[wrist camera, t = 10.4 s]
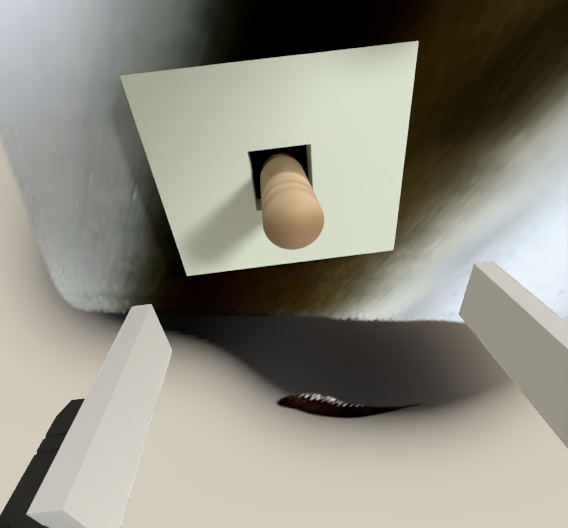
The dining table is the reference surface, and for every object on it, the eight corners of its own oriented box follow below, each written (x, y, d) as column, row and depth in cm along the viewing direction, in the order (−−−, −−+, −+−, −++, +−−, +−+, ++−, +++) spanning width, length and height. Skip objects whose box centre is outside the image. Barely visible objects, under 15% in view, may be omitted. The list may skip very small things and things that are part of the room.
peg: (256, 150, 28) (258, 197, 18) (298, 145, 29) (323, 189, 19) (262, 191, 31) (266, 253, 21) (301, 187, 31) (324, 245, 21)
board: (133, 74, 24) (119, 75, 22) (402, 43, 25) (418, 40, 22) (192, 260, 34) (187, 275, 32) (383, 236, 35) (393, 250, 32)
